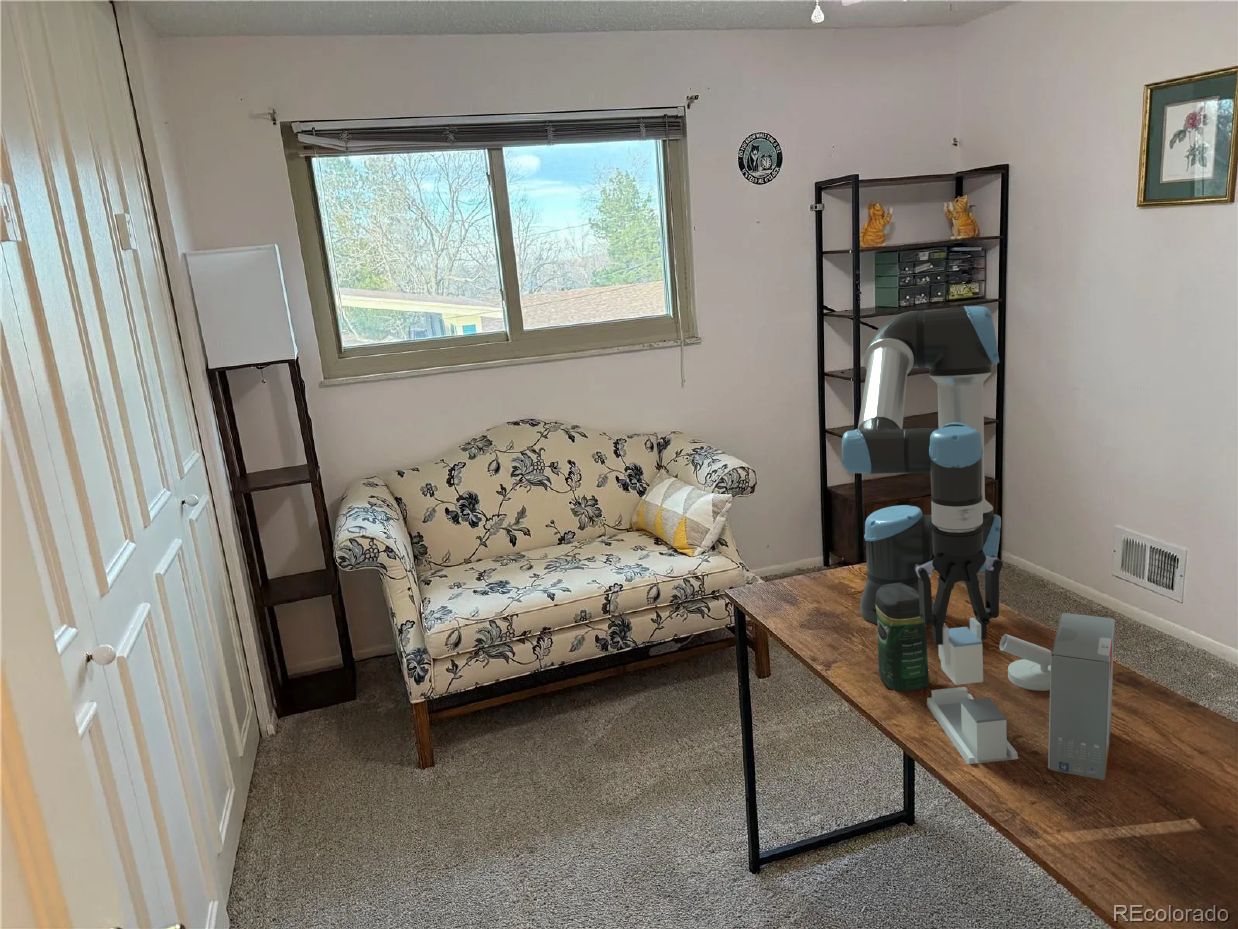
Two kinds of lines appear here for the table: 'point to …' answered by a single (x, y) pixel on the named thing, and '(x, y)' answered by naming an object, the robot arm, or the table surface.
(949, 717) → the rail
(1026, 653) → the wall hook
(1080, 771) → the hard drive box
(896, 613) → the coffee jar
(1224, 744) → the table surface
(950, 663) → the module
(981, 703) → the block
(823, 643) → the table surface
